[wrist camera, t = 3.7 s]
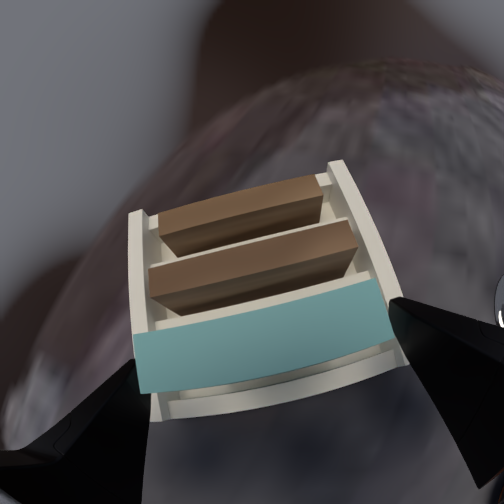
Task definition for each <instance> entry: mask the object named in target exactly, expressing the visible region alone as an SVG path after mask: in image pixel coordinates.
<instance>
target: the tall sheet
mask: <svg viewBox="0 0 504 504" xmlns="http://www.w3.org/2000/svg"><path fill="white" fill-rule="evenodd" d="M393 338H395V336H394V333H393V329H392V326H391V323H390V320H389V316H388V313H387V310H386V307H385V304H384V301H383V298H382V295H381V292H380V289H379V286H378V283H377V281H376V278H373V279H369V280H366V281H363V282H359V283H356V284H353V285H349V286H346V287H342V288H339V289H335V290H332V291H328V292H324V293H321V294H317V295H313V296H310V297H306V298H302V299H298V300H294V301H290V302H286V303H283V304H278V305H274V306H270V307H266V308H262V309H258V310H254V311H249V312H245V313H241V314H236V315H232V316H227V317H222V318H218V319H213V320H208V321H203V322H198V323H193V324H188V325H183V326H178V327H173V328H167V329H162V330H156V331H151V332H145V333H139V334H133V343H134V352H135V360H136V368H137V375H138V381H139V388H140V394H148V393H161V392H173V391H182V390H191V389H199V388H207V387H214V386H221V385H227V384H233V383H238V382H244V381H249V380H254V379H259V378H264V377H268V376H273V375H277V374H281V373H286V372H290V371H294V370H298V369H302V368H306V367H309V366H313V365H317V364H320V363H324V362H327V361H331V360H334V359H337V358H340V357H343V356H346V355H349V354H352V353H355V352H358V351H361V350H364V349H367V348H369V347H372V346H375V345H378V344H380V343H383V342H386V341H388V340H391V339H393Z"/></svg>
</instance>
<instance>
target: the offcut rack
mask: <svg viewBox="0 0 504 504" xmlns="http://www.w3.org/2000/svg"><path fill="white" fill-rule="evenodd" d="M315 177H316V179H317V181H318V183H319V186H320V188H321V190H322V193H323V195H324V196H323V202H322V209H321V215H320V221H319V223H317V224H313V225H309V226H305V227H301V228H296V229H292V230H288V231H284V232H280V233H276V234H272V235H268V236H263V237H259V238H255V239H251V240H247V241H243V242H239V243H235V244H231V245H227V246H223V247H219V248H215V249H211V250H207V251H203V252H199V253H195V254H191V255H187V256H183V257H179V258H177V257H176V256H175V254H174V253H173V252H172V251H171V250H170V249H169V248H168V246H167V245H166V244H165V243H164V242H163V241H162V239H161V238H160V237H159V231H158V214H157V215H154V216H151V217H148V216H147V214H146V213H145V212H144V211H143V209H141V210H138V211H135V212H132V213H129V224H128V276H129V299H130V315H131V327H132V338H133V334H139V333H145V332H151V331H156V330H162V329H167V328H173V327H178V326H183V325H188V324H193V323H198V322H203V321H208V320H213V319H218V318H222V317H227V316H232V315H236V314H241V313H245V312H249V311H254V310H258V309H262V308H266V307H270V306H274V305H278V304H283V303H286V302H290V301H294V300H298V299H302V298H306V297H310V296H313V295H317V294H321V293H324V292H328V291H332V290H335V289H339V288H342V287H346V286H349V285H353V284H356V283H359V282H363V281H366V280H369V279H373V278H376V281H377V283H378V286H379V289H380V292H381V295H382V298H383V301H384V304H385V307H386V310H387V313H388V307H389V301H390V299H393V298H396V297H399V296H400V297H403V295H402V292H401V289H400V286H399V283H398V281H397V278H396V275H395V273H394V270H393V267H392V265H391V262H390V260H389V257H388V255H387V252H386V250H385V247H384V245H383V243H382V240H381V238H380V236H379V233H378V231H377V229H376V226H375V224H374V222H373V220H372V218H371V215H370V213H369V211H368V209H367V207H366V205H365V203H364V201H363V199H362V196H361V194H360V192H359V190H358V188H357V186H356V184H355V182H354V181H353V179H352V177H351V175H350V173H349V171H348V169H347V167H346V165H345V163H344V162H343V160H338V161H332V162H328V166H327V172H326V173H321V174H316V175H315ZM344 220H348V222H349V224H350V227H351V229H352V231H353V234H354V236H355V239H356V241H357V244H358V246H359V247H358V249H357V251H356V253H355V255H354V257H353V259H352V261H351V263H350V265H349V267H348V269H347V271H346V273H345V275H344V277H343V278H340V279H336V280H333V281H329V282H325V283H321V284H318V285H314V286H310V287H306V288H303V289H299V290H295V291H291V292H287V293H283V294H279V295H275V296H271V297H267V298H263V299H259V300H254V301H250V302H246V303H242V304H237V305H233V306H228V307H224V308H219V309H215V310H210V311H206V312H201V313H196V314H191V315H186V316H179V315H178V314H176V313H174V312H173V311H171V310H169V309H168V308H166V307H164V306H163V305H161V304H159V303H158V302H156V301H155V300H153V299H151V298H150V293H149V279H148V269H149V268H153V267H157V266H161V265H165V264H169V263H173V262H176V261H180V260H184V259H188V258H192V257H196V256H200V255H204V254H208V253H212V252H216V251H220V250H224V249H228V248H232V247H236V246H240V245H244V244H249V243H253V242H257V241H261V240H265V239H269V238H273V237H277V236H281V235H285V234H289V233H294V232H298V231H302V230H306V229H310V228H314V227H318V226H323V225H327V224H331V223H335V222H339V221H344ZM393 333H394V332H393ZM394 336H395V334H394ZM133 347H134V343H133ZM134 356H135V352H134ZM409 364H410V363H409V362H408V360H407V358H406V357H405V355H404V353H403V351H402V349H401V347H400V345H399V342H398V340H397V338H396V336H395V338H393V339H391V340H388V341H386V342H383V343H380V344H378V345H375V346H372V347H369V348H367V349H364V350H361V351H358V352H355V353H352V354H349V355H346V356H343V357H340V358H337V359H334V360H331V361H327V362H324V363H320V364H317V365H313V366H309V367H306V368H302V369H298V370H294V371H290V372H286V373H281V374H277V375H273V376H268V377H264V378H259V379H254V380H249V381H244V382H238V383H233V384H227V385H221V386H214V387H207V388H199V389H191V390H182V391H173V392H161V393H151V414H150V422H162V421H166V420H169V419H179V418H191V417H201V416H210V415H218V414H225V413H232V412H238V411H244V410H250V409H256V408H261V407H266V406H271V405H276V404H280V403H285V402H289V401H293V400H297V399H302V398H305V397H309V396H313V395H317V394H320V393H324V392H327V391H331V390H334V389H337V388H341V387H344V386H347V385H350V384H353V383H356V382H359V381H362V380H365V379H367V378H370V377H373V376H376V375H378V374H381V373H384V372H386V371H389V370H391V369H394V368H396V367H401V366H406V365H409Z"/></svg>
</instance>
